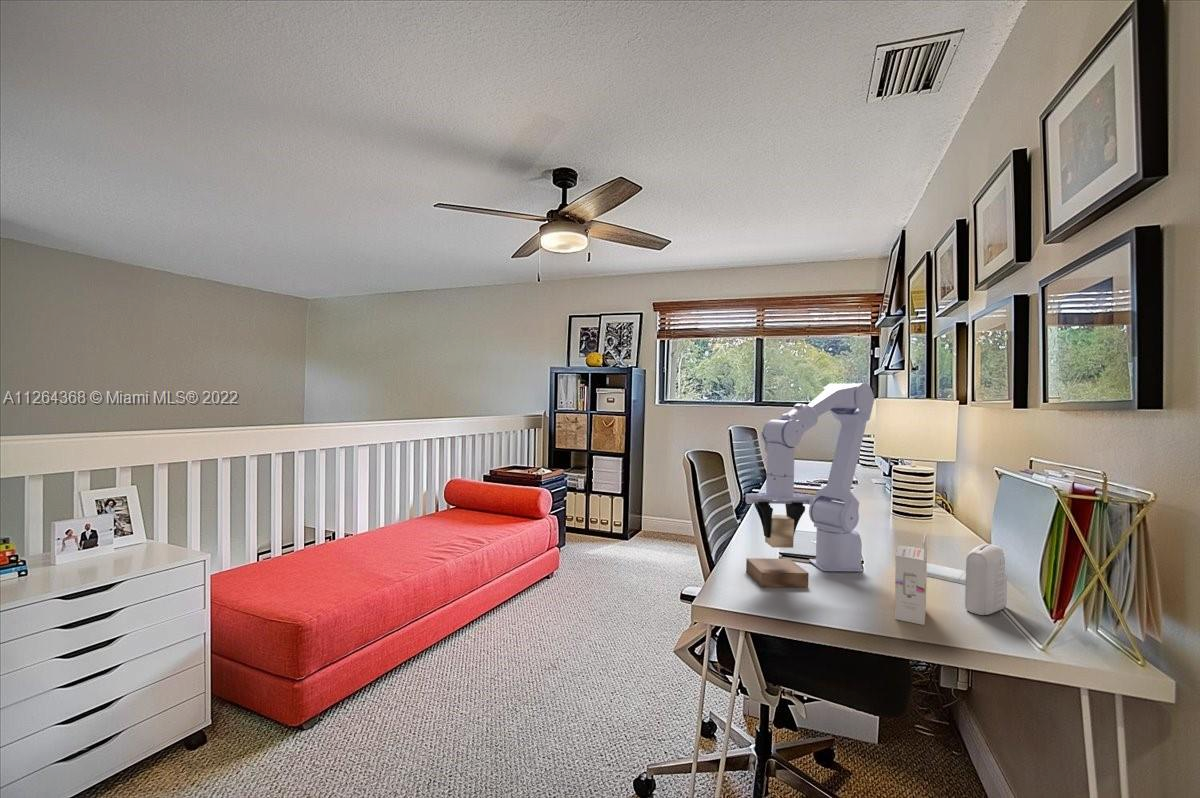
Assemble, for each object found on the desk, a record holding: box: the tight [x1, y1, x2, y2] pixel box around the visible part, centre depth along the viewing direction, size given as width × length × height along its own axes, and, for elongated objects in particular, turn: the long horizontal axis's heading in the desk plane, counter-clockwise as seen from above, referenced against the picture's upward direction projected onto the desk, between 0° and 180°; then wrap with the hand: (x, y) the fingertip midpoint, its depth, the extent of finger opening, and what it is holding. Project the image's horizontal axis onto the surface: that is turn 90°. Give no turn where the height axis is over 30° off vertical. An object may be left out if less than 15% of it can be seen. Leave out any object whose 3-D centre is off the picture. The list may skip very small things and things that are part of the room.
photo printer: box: [964, 543, 1008, 616], centre depth 103 cm, size 10×4×12 cm, turn 123°
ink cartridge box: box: [894, 533, 928, 626], centre depth 99 cm, size 9×5×15 cm, turn 148°
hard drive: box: [927, 562, 966, 585], centre depth 124 cm, size 2×8×12 cm
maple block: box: [764, 514, 795, 549], centre depth 117 cm, size 4×4×6 cm
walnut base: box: [745, 557, 810, 588], centre depth 117 cm, size 10×10×3 cm
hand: (778, 536), depth 117 cm, fingers closed on maple block, 4 cm apart
